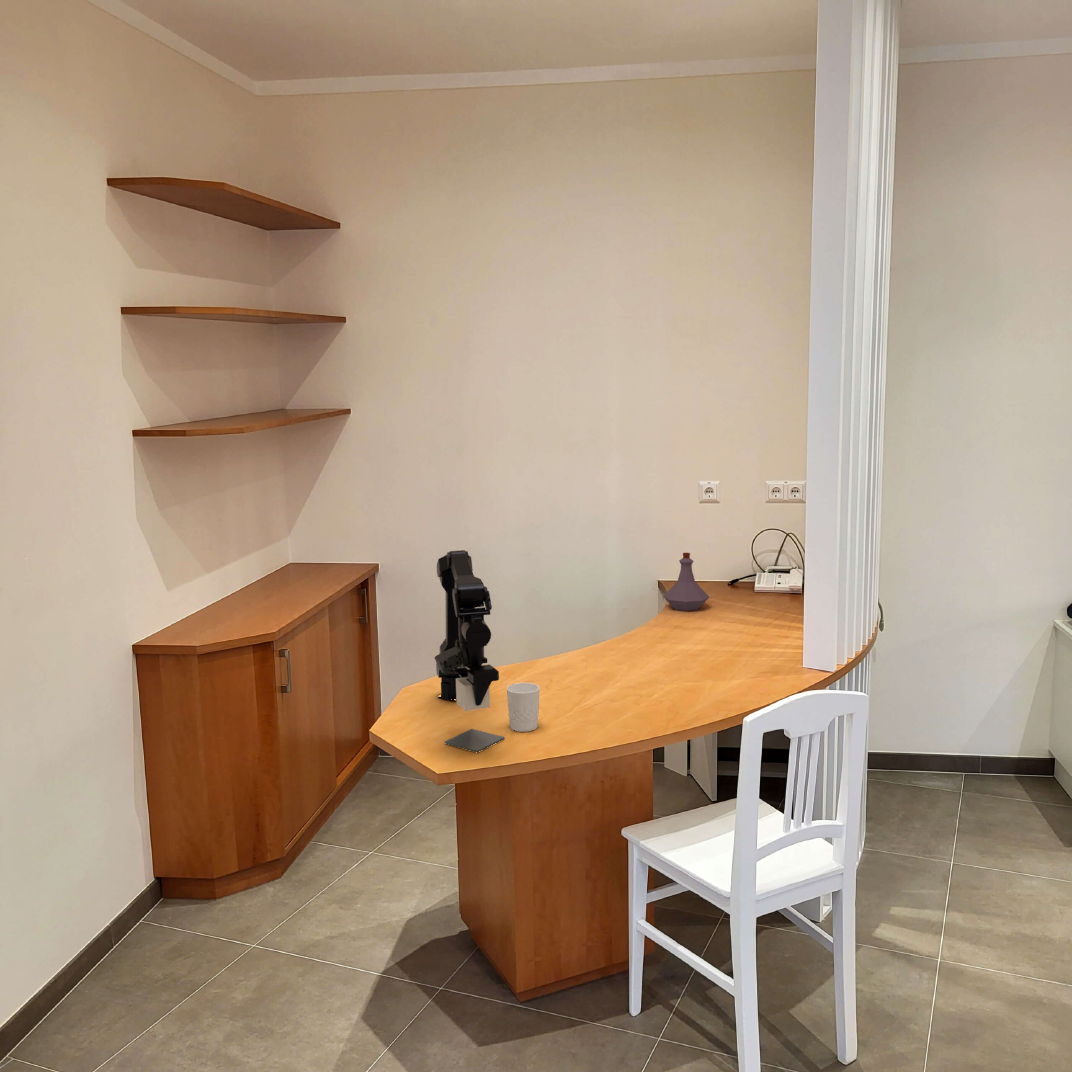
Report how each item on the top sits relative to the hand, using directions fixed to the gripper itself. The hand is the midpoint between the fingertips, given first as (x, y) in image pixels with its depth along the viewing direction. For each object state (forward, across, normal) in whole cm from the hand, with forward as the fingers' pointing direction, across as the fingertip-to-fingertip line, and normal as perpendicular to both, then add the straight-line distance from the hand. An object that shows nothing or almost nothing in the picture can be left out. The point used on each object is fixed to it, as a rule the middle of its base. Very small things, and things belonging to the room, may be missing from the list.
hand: (473, 701), depth 230 cm
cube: (+1, 0, 0) cm, 1 cm away
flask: (+10, -85, +113) cm, 142 cm away
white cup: (+10, -3, +14) cm, 18 cm away
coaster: (+10, 0, 0) cm, 10 cm away
